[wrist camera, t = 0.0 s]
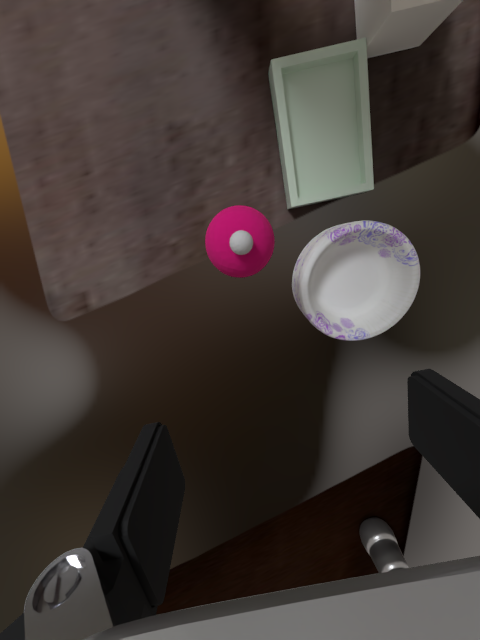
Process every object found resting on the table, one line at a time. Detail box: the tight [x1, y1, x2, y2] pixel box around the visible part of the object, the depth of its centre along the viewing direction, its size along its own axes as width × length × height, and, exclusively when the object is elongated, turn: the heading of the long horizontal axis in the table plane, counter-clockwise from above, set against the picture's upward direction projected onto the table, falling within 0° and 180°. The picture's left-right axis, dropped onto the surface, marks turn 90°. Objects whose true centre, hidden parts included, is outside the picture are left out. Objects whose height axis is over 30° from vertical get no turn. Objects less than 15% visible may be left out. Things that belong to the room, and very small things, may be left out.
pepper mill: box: [205, 205, 274, 278], centre depth 28 cm, size 7×7×20 cm
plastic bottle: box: [359, 517, 409, 573], centre depth 45 cm, size 6×7×20 cm
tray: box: [268, 38, 374, 210], centre depth 33 cm, size 16×11×2 cm
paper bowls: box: [292, 220, 420, 341], centre depth 36 cm, size 15×15×8 cm
